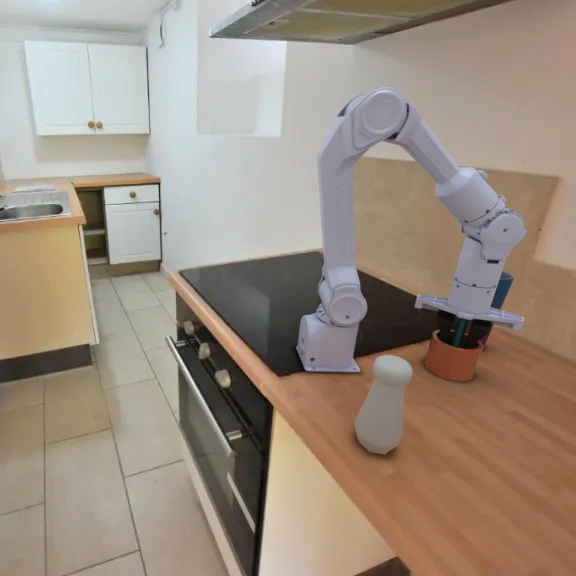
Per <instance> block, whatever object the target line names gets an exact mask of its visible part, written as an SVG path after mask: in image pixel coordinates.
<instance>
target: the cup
mask: <svg viewBox="0 0 576 576" xmlns="http://www.w3.org/2000/svg"><path fill="white" fill-rule="evenodd" d="M514 279H515V275H514V273H512V272H510V271H507V270H505V269H504V270H502V273H501V276H500V279H499V282H498V285H497V288H496V291H495V294H494V297H493V300H492V303H491V306H490V307H492V308H495V309H499V310H501V309H502V307H503V304H504V303H505V301H506V299H507V295H508V293H509V291H510V289H511V287H512V284H513V282H514ZM458 319H459V317H457V321H456V323H457V322H458ZM471 323H472V320H469V321H468V325H467V328H466V331H465V333H466V334H468V332H469V329H470V326H471ZM456 326H457V324H456V325H455V327H456ZM494 326H495V324H492V325H491V329H490V332H489V333H488V334H487V335H486V336H484V337H483V338H482V339H480V341H481V342H482V344H483V349H484V348H485V346H486V344H487V341H488V339H489V337H490V334H491V332H492V330H493V329H494V328H493V327H494Z"/></svg>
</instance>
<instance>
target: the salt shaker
mask: <svg viewBox="0 0 576 576" xmlns="http://www.w3.org/2000/svg"><path fill="white" fill-rule="evenodd" d="M372 373H373V376H374V377H375V379H374V380H373V382H372V385H371V387H370V389H369V391H368V393H367V396H366V397H365V399H364V401H363V403H362V406H361V407H360V409H359V411H358V413H357V416H356V417H355V420H354V423H353V425H354V431H355V435H356V438H357V440H358V443H359V444H360V445H361V446H362V447H364V449H365V450H366V451H368V453H373V454H377V455H384V456H385V455H386V454H388V453H389V452H390V451H392V450H393V449H395V448H397V447H399V445H400V443H401V441H402V439H403V437H404V414H405V413H404V410H405V409H404V408H405V386H406V385H408V384H409V383H410V381H411V379H412V377H413V367H412V365H411V364H410V362H408V360H406V359H405V358H402V357H400V356H397V355H393V354H383V355H380V356H378V357H376V359H375V360H374V362H373V364H372Z"/></svg>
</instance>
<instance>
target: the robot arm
mask: <svg viewBox="0 0 576 576" xmlns="http://www.w3.org/2000/svg"><path fill="white" fill-rule="evenodd" d="M381 142H384V143H388V144H393V145H396V146H399V147H401V148H402V149H403V150H404V152H406V153H407V154H408V155H409V156H410V157H411V158H412V159H413V160H414V161H415V162H416V163H417V164H418V165H419V167H421V168H422V169H423V170H424V171H425V172H426V174H428V175H429V176H430V178H431V179H432V180H434V182H435V188H434V196H435V197H436V198H437V199H438V201H439V202H440V203H441V204H442V205H443V206H444V207H445V209H447V211H448V212H449V213H450V214H451V215H452V216H453V217H454V218H455V220H457V222H458V223H459V230H460V231H461V233H462V234H465V235H466V236H465V237H464V241H463V244H462V249H461V252H460V255H459V258H458V262H457V266H456V269H455V272H454V277H453V279H452V280H453V281H452V284H451V287H450V291H449V294H448V297H443V296H435V295H427V294H421V293H419V294H418V295H416V296H417V297H416V298H415V304H414V308H415V309H420V310H421V309H425V310H431V311H435V312H437V314H436V318H435V320H436V324H437V327H438V330H439V331H440V335H441V341H442V342H444V343H446V344H448V343H449V337H450V332H451V330H453V329H452V328H453V326H454V321H455V318H456V317H457V318H458V317H459V318H463V319H468V320H472V323H471V326H470V329H469V332H468V336H467V338H466V340H465V343H464V345H463V347H462V348H463V349H471V348H472V347H473V346H474V345H475V344H476V343H477V342H478V341H479V340H480V339H482V338H483V337H484V336H486V335H487V334H488V333H489V332H490V329H491V325H492V324H494V326H499V327H503V328H508V329H511V331H514V332H518V333H520V332H521V331H522V329H523V325H524V323H525V317H524V315H519V314H515V313H511V312H508V311H505V310H501V309H500V310H499V309H495V308H492V307H490V306H491V303H492V300H493V297H494V294H495V291H496V288H497V285H498V282H499V279H500V276H501V273H502V270H503V269H504V267H505V263H506V261H507V259H508V257H510V254H511V251H512V250H513V248H514V247H515V246H516V245H517V244H519V243H520V242H521V241H522V240H523V239H524V238H525V236H526V235H527V232H528V230H527V229H525V228H524V227H525V225H524V223H525V220H524V218H523V216H522V215H521V214H520V213H519V212H518V211H516V210H513V209H510V208H508V207H507V208H506V202H507V199H506V198H505V196H504V195H501V194H497V192H496V191H494V189H493V188H492V187H491V186H490V184H489V183H488V182H487V181H486V180H487V178H489V175H488V174H487V173H486V171H484V170H481V169H476V168H474V167H473V166H466V167H465V166H464V167H463V166H462V167H460V166H459V164H458V163H457V162H456V161H455V159H454V158H453V156H452V155H451V154H450V153H449V151H448V150H447V148H446V147H445V146H444V145H443V143H442V142H441V141H440V140H439V138H438V137H437V136H436V134H435V133H434V131H433V130H432V129H431V127H430V126H429V125H428V124H427V123H426V121H425V119H423V117H422V116H421V114H420V113H419V110H418V109H417V107H415V106H414V104H412V103H410V102H406V99H405V97H404V95H402V93H401V92H400V91H399V90H397V89H395V88H393V87H388V86H387V87H386V86H385V87H378V88H375V89H373V90H370V92H368V93H361V94H357V95H356V96H354V97H353V98H351V99H350V100H349V101H348V102H347V103H346V104H344V106H343V107H342V108H341V109H340V110H339V111H338V112H337V113H336V114H335V117H334V120H333V123H332V125H331V126H330V129H329V131H328V133H327V135H326V137H325V139H324V140H323V143H322V144H321V146H320V149H319V150H318V153H317V158H316V164H317V178H318V180H317V181H318V193H319V209H320V210H319V211H320V226H321V242H322V258H323V265H322V267H321V278H320V280H319V283H318V285H317V294H318V297H319V298H320V300H321V302H320V303H319V306H317V309H316V312H313V313H311V314H305V315H302V316H301V319H300V323H299V331H298V339H297V345H296V347H295V348H296V351H297V354H298V357H299V358H300V361H301V364H302V366H303V368H304V370H305V371H306V372H317V373H319V372H320V373H321V372H322V373H360V372H361V368H360V367H359V365H358V363H357V362H356V360H355V359H354V354H355V349H356V343H357V337H358V333H359V327H360V323H361V321H362V320H363V319H364V318H365V316H366V315H367V313H368V303H367V299H366V298H365V297H364V296H363V293H362V291H361V281H360V278H359V274H358V269H357V260H356V256H357V255H356V231H355V230H356V229H355V204H354V203H355V201H354V198H355V197H354V174H353V173H354V171H353V169H354V166H355V164H357V162H358V161H359V160H360V159H361V158H362V157H363V156H364V155H365V154H366V153H367V152H368V151H369V150H370V148H373V147H374V146H376V145H378V144H379V143H381ZM490 333H491V332H490Z"/></svg>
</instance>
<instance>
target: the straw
mask: <svg viewBox="0 0 576 576" xmlns="http://www.w3.org/2000/svg"><path fill="white" fill-rule="evenodd" d="M457 320H458V322H457V321H456V325H457V326H456V325H455V329H454V330H455V332H454V336H453V339H452V342H451V346H454V347H457V348H460V347H461V344H462V341H463V337H464V334H465V331H466V328H467V325H468V321H469V320H468V319H463V318H459V319H458V318H457Z"/></svg>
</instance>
